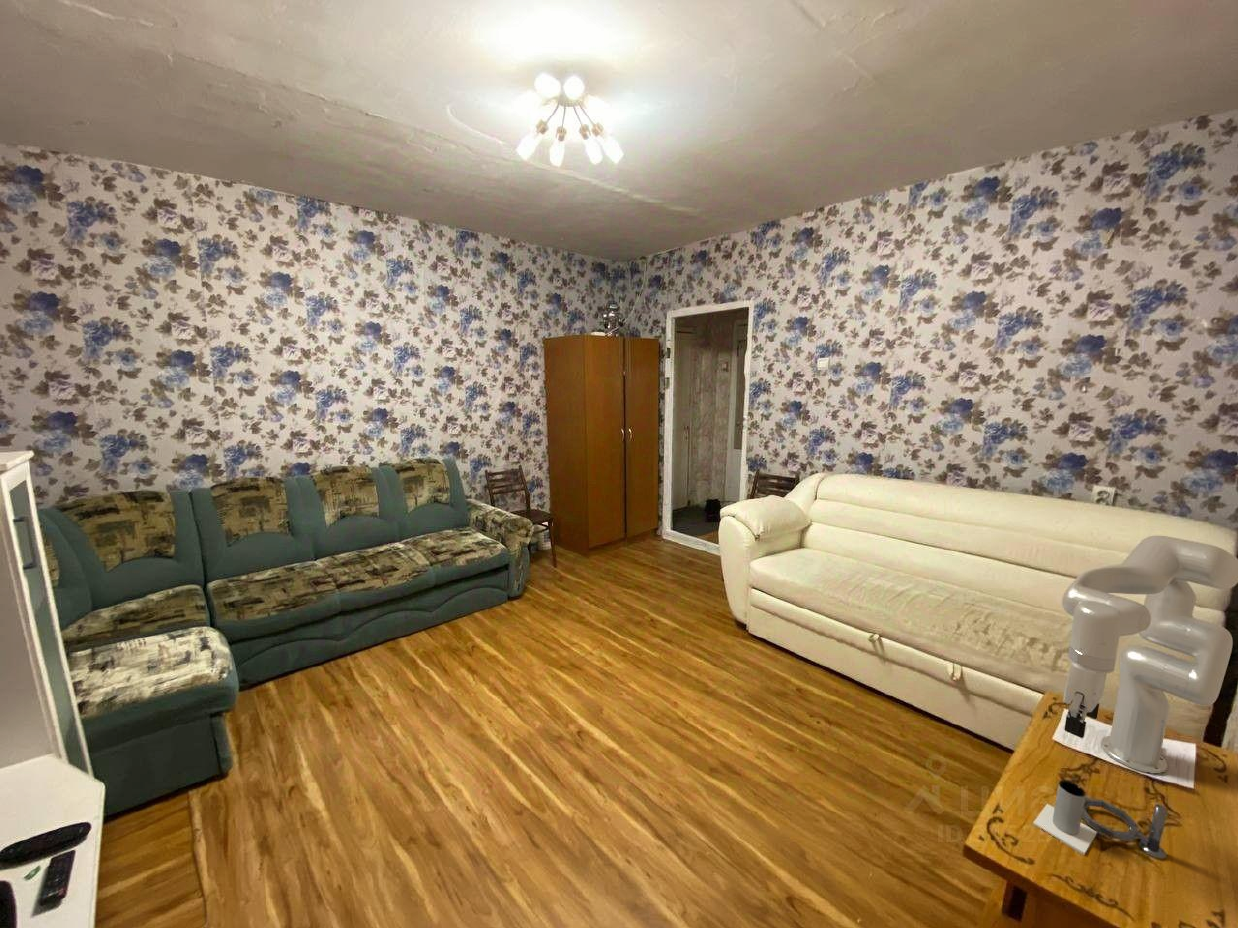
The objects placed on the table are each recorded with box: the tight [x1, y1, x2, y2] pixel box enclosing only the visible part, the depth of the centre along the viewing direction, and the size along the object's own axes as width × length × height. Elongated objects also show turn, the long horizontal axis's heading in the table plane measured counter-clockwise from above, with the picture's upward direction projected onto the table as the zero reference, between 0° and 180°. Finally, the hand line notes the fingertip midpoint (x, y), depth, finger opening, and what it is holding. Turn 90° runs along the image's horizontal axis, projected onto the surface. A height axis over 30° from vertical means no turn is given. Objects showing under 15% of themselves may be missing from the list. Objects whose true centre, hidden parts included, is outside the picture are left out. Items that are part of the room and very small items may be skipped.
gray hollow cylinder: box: [1053, 779, 1087, 835], centre depth 113 cm, size 4×4×10 cm
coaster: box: [1032, 803, 1098, 856], centre depth 113 cm, size 9×9×1 cm
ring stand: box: [1081, 797, 1168, 860], centre depth 111 cm, size 10×14×11 cm
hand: (1080, 724), depth 113 cm, fingers open, 9 cm apart
